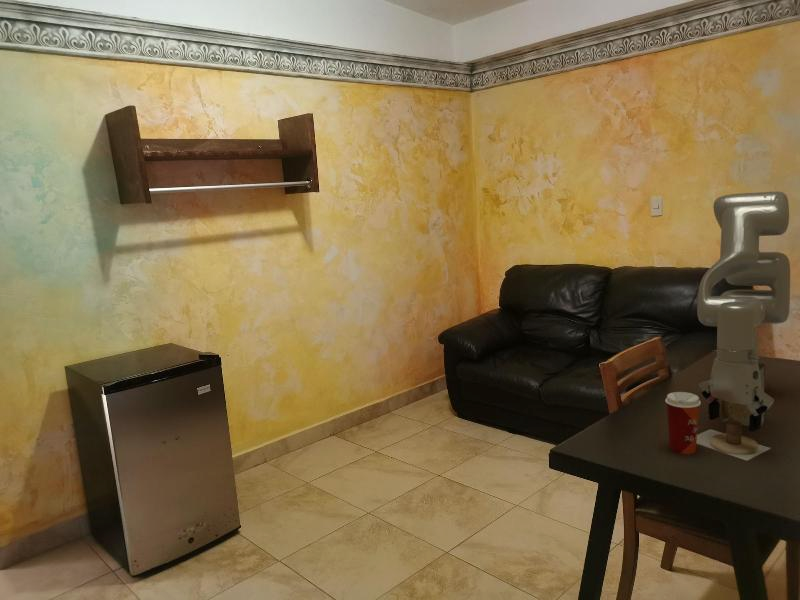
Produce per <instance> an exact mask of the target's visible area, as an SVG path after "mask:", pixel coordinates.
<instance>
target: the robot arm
mask: <svg viewBox="0 0 800 600" xmlns="http://www.w3.org/2000/svg"><path fill="white" fill-rule="evenodd" d="M789 206H790V205H789V199H788V196H787V194H785V193H784V192H783V191H764V192H763V191H761V192H742V193H731V194H726V195H721V196H719V197H717V198H715V200H714V202H713V207H712V208H713V214H714V217H715V219H716V222H717V225H718V226H719V227H720V230H721V232H720V233H721V234H720V252H719V255H720V256H719V259H718V260H717V261H716V262H715V263H714V264H713V265H712V266H710V267H709V268H708V270H707V271H706V272H705V273H704V274H703V276H702V278H701V281H700V283H699V286H698V292H697V293H698V295H697V307H696V308H697V309H696V311H697V318H698V321H699V322H700V323H701V324H702V325H704V326H706V327H707V326H708V327H717V328H716V330H717V333H716V334H717V335H716V336H717V337H716V357H715V358H714V360H713V363H712V367H711V373H710V379H708V380H705V381H701V382H699V383H698V387H699V389H700V391H701V395H702V397H704V398H705V400H706V401H705V402H706V403H707V404H708V419H709V420H710V421H713V420H715V419H718V418H720V415H721V414H720V409H721V408H720V406H721V405H720V401H718V400H721V401H722V400H724V401H728V402H732V403H736V404H740V405H745V406H747V407H748V408H749V410H750V411H751V413H752V414H751V415H750V420H749V426H748V429H749V431H750V432H755V431H758V430H760V428H761V427H762V426H761V414H762V413H764V414H765V412H766V411H769V410H770V409H771V406H772V405H773V404H774V402H775V399H774V398H773V397H772V396H770V395H769V394H767V393H766V392H765V391H764V392H763V391H762V390H761V377H760V371H759V366H758V363H759V359H760V354H759V345H760V343H759V341H760V340H759V335H758V333H757V332H756V331H755V329H756V328H757V327H758V326H759V325H760V324H771V325H772V324H783V323H785V322H786V321H787V320H788V318H789V315H790V304H791V302H790V301H791V298H790V297H791V262H790V259H789V258H788V256H787V255H786V254H785V253H782V252H778V251H765V252H764V251H760V237H767V236H768V237H769V236H774V237H775V236H781V235H784V234H785V233H786V232H787V230H788V227H789V223H790V207H789ZM723 279H725V281H726V282H727V283H728V284H730V285H732V286H739V287H740V286H741V287H742V286H745V287H751V286H753V287H760V286H761V287H768V288H770V289H729V290H726V291H724V292H723V293H722V294H720V295H711V293H712V289H713V288H714V286H715V285H717V284H718V283H719V282H720V281H722V280H723ZM709 386H710V388H708V387H709ZM761 399H762V400H763V401H764V403H763V405H762V406H761V405H760V404H759V403H758V402H760V401H761Z"/></svg>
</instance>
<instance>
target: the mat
mask: <svg viewBox="0 0 800 600" xmlns="http://www.w3.org/2000/svg"><path fill="white" fill-rule="evenodd" d="M717 434H725V433H724V432H721V431H717V430H714V429H708V430H704V431H703V432H700V433H699V434H698V433H697V442H696V445H698V446H699V445H700V446H703V447H705V448H709V449H712V450H713V451H716V452H719V453H722V454H726V455H729V456H731V457H734V458H737V459H740V460H743V461H747V462H748V461H750V460H752V459H753V458H755V457H758V456H759V455H761V454H764V453H765V452H767V451H769V450H771V449H772V448H771V447H769V446H765V445H762V444H759V443H757V444H758V450H757V452H755V453H753V454H749V455H733V454H727V453H723V452H720V451H718V450H716V449H714V448H713V447H712V446H711V445H710V438H711V437H712V436H714V435H717Z"/></svg>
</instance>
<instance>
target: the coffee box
mask: <svg viewBox="0 0 800 600" xmlns="http://www.w3.org/2000/svg"><path fill="white" fill-rule="evenodd" d="M758 366H759V371H760V377H761V390H762V391H763V392H765V376H766V373H765V370H766V365H765V363H759V362H758ZM758 403H759V404H760V405H761V406H762V405H763V403H764V401H763V400H762V399H761V401H760V402H758ZM751 414H752V413H751V411H750V410H749V408H748V407H747V406H745V405H740V404H736V403H732V402H728V401H724V400H721V419H720V420H721V422H724V423H726V421H728V420H736V421H740V422H741V423H742V426H746V427H749V420H750V415H751ZM764 422H765V412H764V413H762V414H761V427H762V425H763V424H764Z"/></svg>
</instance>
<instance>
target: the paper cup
mask: <svg viewBox="0 0 800 600" xmlns="http://www.w3.org/2000/svg"><path fill="white" fill-rule="evenodd" d="M664 401H665V403H666V411H667V412H666V413H667V425H668V427H667V428H668V439H669V449H670V450H671V452H673V453H676V454H680V455H691V454H694V453H696V451H697V444H696V442H697V435H698V431H699V430H698V428H699V427H698V426H699V414H700V413H699V412H700V406H701V405H702V404H701V403H702V402H701V400H700V397H699V396H698V395H697V394H696V393H695V394H694V393H692V392H685V391H676V392H675V391H674V392H671V393H668V394H667V395H666V398H665V400H664Z"/></svg>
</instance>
